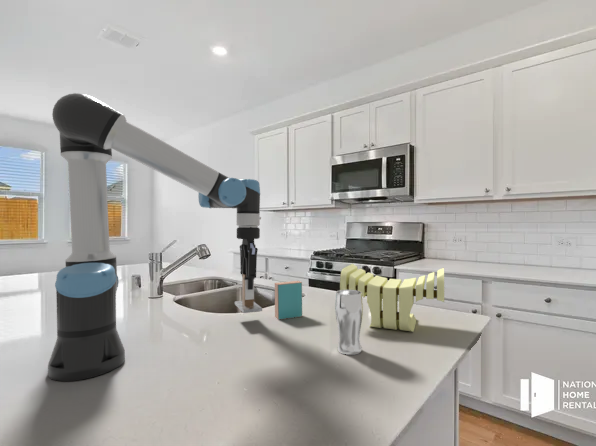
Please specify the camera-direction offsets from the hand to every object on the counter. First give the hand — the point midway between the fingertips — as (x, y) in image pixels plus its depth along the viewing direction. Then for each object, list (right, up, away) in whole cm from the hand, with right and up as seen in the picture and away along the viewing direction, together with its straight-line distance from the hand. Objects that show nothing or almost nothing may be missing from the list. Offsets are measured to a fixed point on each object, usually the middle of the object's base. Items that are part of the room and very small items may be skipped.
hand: (247, 297), depth 109 cm
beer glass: (+30, -8, -24) cm, 39 cm away
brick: (+13, -8, +6) cm, 17 cm away
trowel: (0, -3, 0) cm, 3 cm away
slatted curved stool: (+47, -8, -3) cm, 48 cm away
